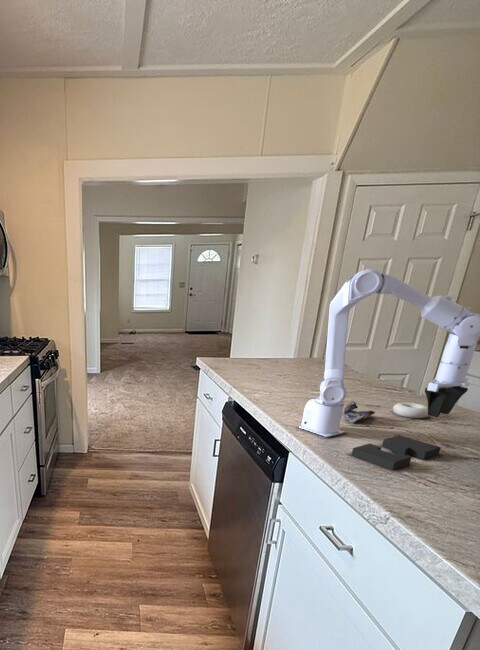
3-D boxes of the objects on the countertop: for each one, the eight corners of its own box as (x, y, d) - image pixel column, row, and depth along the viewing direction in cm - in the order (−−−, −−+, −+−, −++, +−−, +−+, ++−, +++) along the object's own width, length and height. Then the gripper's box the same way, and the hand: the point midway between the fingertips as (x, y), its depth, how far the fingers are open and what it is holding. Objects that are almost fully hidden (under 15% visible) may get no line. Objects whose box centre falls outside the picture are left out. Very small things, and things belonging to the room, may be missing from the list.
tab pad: (377, 447, 107) (379, 440, 106) (397, 441, 111) (399, 435, 110) (419, 460, 99) (421, 453, 98) (438, 454, 102) (441, 447, 102)
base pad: (351, 455, 103) (352, 448, 102) (368, 450, 106) (369, 443, 105) (392, 470, 94) (394, 462, 94) (409, 464, 97) (411, 456, 96)
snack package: (326, 416, 133) (360, 426, 122) (332, 397, 131) (367, 405, 121) (349, 417, 137) (384, 427, 127) (355, 399, 136) (391, 407, 126)
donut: (385, 410, 138) (401, 419, 129) (388, 400, 137) (404, 408, 127) (418, 411, 136) (436, 420, 127) (420, 401, 135) (439, 409, 126)
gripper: (458, 368, 94) (440, 423, 99) (489, 362, 100) (470, 414, 105) (425, 363, 100) (409, 415, 105) (455, 358, 106) (439, 407, 111)
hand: (438, 414), depth 106 cm, fingers open, 4 cm apart
